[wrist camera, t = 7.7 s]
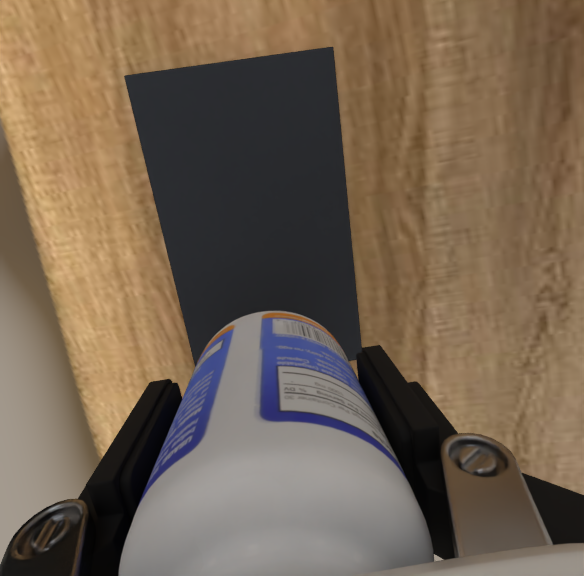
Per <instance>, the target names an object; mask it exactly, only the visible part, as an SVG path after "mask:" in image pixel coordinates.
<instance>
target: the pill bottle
mask: <svg viewBox="0 0 584 576" xmlns="http://www.w3.org/2000/svg"><path fill="white" fill-rule="evenodd" d="M430 562H434V554H433V547H432V541H431V537H430V533H429V530H428V526H427V523H426V520H425V518H424V515H423V513H422V511H421V509H420V506H419V504H418V502H417V500H416V498H415V495H414V493H413V491H412V488H411V486H410V484H409V482H408V480H407V478H406V476H405V474H404V472H403V469H402V467H401V465H400V463H399V461H398V459H397V457H396V455H395V453H394V451H393V449H392V447H391V445H390V443H389V441H388V439H387V437H386V435H385V433H384V431H383V429H382V427H381V425H380V423H379V421H378V419H377V417H376V415H375V413H374V411H373V409H372V407H371V405H370V403H369V401H368V399H367V397H366V395H365V393H364V391H363V389H362V387H361V385H360V383H359V381H358V379H357V377H356V375H355V373H354V371H353V369H352V367H351V365H350V363H349V361H348V359H347V357H346V355H345V353H344V351H343V350H342V348H341V346H340V345H339V344H338V342H337V341H336V340H335V338H334V337H333V336H332V335H331V334H330V333H329V332H328V331H327V330H326V329H325V328H324V327H323V326H321V325H320V324H318V323H317V322H315V321H313V320H312V319H310V318H307V317H305V316H303V315H299V314H296V313H292V312H286V311H264V312H257V313H253V314H249V315H246V316H243V317H241V318H239V319H236V320H234V321H233V322H231V323H229V324H228V325H226V326H225V327H224V328H222V329H221V330H220V331H219V332H218V333H217V334H216V335H215V336H214V337H213V338H212V339H211V341H210V342H209V343H208V345H207V346H206V348H205V349H204V351H203V353H202V354H201V356H200V358H199V360H198V362H197V365H196V367H195V370H194V372H193V374H192V377H191V379H190V382H189V384H188V387H187V389H186V391H185V394H184V396H183V399H182V401H181V404H180V406H179V408H178V411H177V413H176V416H175V418H174V420H173V423H172V425H171V427H170V430H169V432H168V435H167V437H166V440H165V442H164V444H163V447H162V449H161V452H160V454H159V456H158V459H157V461H156V463H155V466H154V468H153V471H152V473H151V476H150V478H149V481H148V483H147V485H146V488H145V490H144V493H143V495H142V498H141V500H140V503H139V505H138V508H137V510H136V513H135V516H134V518H133V521H132V524H131V527H130V529H129V532H128V535H127V538H126V540H125V544H124V547H123V551H122V555H121V560H120V566H119V574H118V576H353V575H359V574H365V573H371V572H377V571H383V570H388V569H394V568H400V567H406V566H412V565H418V564H424V563H430Z"/></svg>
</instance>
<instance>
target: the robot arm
mask: <svg viewBox="0 0 584 576" xmlns="http://www.w3.org/2000/svg"><path fill="white" fill-rule="evenodd" d="M356 359H357V369H358V379H359V383H360V385H361V387H362V389H363V391H364V393H365V395H366V397H367V399H368V401H369V403H370V405H371V407H372V409H373V411H374V413H375V415H376V417H377V419H378V421H379V423H380V425H381V427H382V429H383V431H384V433H385V435H386V437H387V439H388V441H389V443H390V445H391V447H392V449H393V451H394V453H395V455H396V457H397V459H398V461H399V463H400V465H401V467H402V469H403V472H404V474H405V476H406V478H407V480H408V482H409V484H410V486H411V488H412V491H413V493H414V495H415V498H416V500H417V502H418V504H419V506H420V509H421V511H422V513H423V515H424V518H425V520H426V523H427V526H428V530H429V533H430V537H431V541H432V547H433V554H435V555H437V556H439V557H441V558H442V559H444V560H441V561H435V562H430V563H424V564H418V565H412V566H406V567H400V568H394V569H388V570H383V571H377V572H371V573H365V574H359V575H353V576H584V495H582V494H579V493H576V492H573V491H571V490H568V489H565V488H562V487H560V486H557V485H554V484H551V483H549V482H546V481H543V480H540V479H538V478H535V477H532V476H529V475H527V474H524V473H521V470H520V468H519V466H518V463H517V461H516V459H515V457H514V456H513V454H512V453H511V451H510V450H509V449H507V448H506V447H505V446H504V445H503V444H501V443H500V442H498V441H496V440H494V439H492V438H490V437H487V436H484V435H481V434H474V433H459V434H458V433H457V431H456V430H455V429H454V427H453V426H452V425H451V424H450V422H449V421H448V420H447V419H446V417H445V416H444V415H443V413H442V412H441V411H440V410H439V408H438V407H437V406H436V405H435V403H434V402H433V401H432V399H431V398H430V397H429V396H428V394H427V393H426V392H425V391H424V389H423V388H422V387H421V385H420V384H419V383H418V382H409V383H407V381H406V380H405V379H404V377H403V376H402V375H401V373H400V372H399V370H398V369H397V368H396V366H395V365H394V364H393V362H392V361H391V359H390V358H389V357H388V355H387V354H386V353H385V351H384V350H383V348H382V347H381V346H380V345H377V346H371V347H365V348H362V353H357V354H356ZM181 401H182V396H181V393H180V389H179V386H178V384H177V383H172V381H171V380H170V379H166V380H160V381H154V382H150V383H149V385H148V386H147V388H146V389H145V391H144V393H143V394H142V396H141V397H140V399H139V401H138V402H137V404H136V405H135V407H134V409H133V410H132V412H131V413H130V415H129V417H128V418H127V420H126V421H125V423H124V425H123V426H122V428H121V429H120V431H119V433H118V434H117V436H116V437H115V439H114V441H113V442H112V444H111V445H110V447H109V449H108V450H107V452H106V453H105V455H104V457H103V458H102V460H101V461H100V463H99V465H98V466H97V468H96V470H95V471H94V473H93V474H92V476H91V478H90V479H89V481H88V482H87V484H86V486H85V488H84V490H83V491H82V493H81V494H80V496H79V498H78V499H67V500H64V501H60V502H57V503H55V504H53V505H51V506H49V507H46V508H45V509H43V510H42V511H40V512H39V513H37V514H36V515H34V516H33V517H32V518H31V519H29V520H28V521H27V522H26V523H25V524H23V525H22V527H21V528H20V529H19V530H18V531H17V532H16V533H15V535H14V536H13V538H12V540H11V541H10V543H9V545H8V547H7V549H6V552H5V554H4V557H3V559H2V562H1V564H0V576H118V574H119V566H120V560H121V555H122V551H123V547H124V544H125V540H126V538H127V535H128V532H129V529H130V527H131V524H132V521H133V518H134V516H135V513H136V510H137V508H138V505H139V503H140V500H141V498H142V495H143V493H144V490H145V488H146V485H147V483H148V481H149V478H150V476H151V473H152V471H153V468H154V466H155V463H156V461H157V459H158V456H159V454H160V452H161V449H162V447H163V444H164V442H165V440H166V437H167V435H168V432H169V430H170V427H171V425H172V423H173V420H174V418H175V416H176V413H177V411H178V408H179V406H180V404H181Z"/></svg>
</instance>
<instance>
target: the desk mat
mask: <svg viewBox="0 0 584 576" xmlns="http://www.w3.org/2000/svg"><path fill="white" fill-rule="evenodd" d="M124 77H125V81H126V85H127V89H128V93H129V97H130V102H131V106H132V110H133V114H134V118H135V122H136V126H137V130H138V134H139V138H140V142H141V146H142V151H143V155H144V159H145V163H146V167H147V171H148V175H149V179H150V183H151V187H152V191H153V196H154V200H155V204H156V208H157V212H158V216H159V220H160V224H161V228H162V232H163V236H164V241H165V245H166V249H167V253H168V257H169V261H170V265H171V269H172V273H173V277H174V281H175V285H176V290H177V294H178V298H179V302H180V306H181V310H182V314H183V318H184V322H185V326H186V330H187V335H188V339H189V343H190V347H191V351H192V355H193V359H194V363H195V367H196V365H197V362H198V360H199V358H200V356H201V354H202V353H203V351H204V349H205V348H206V346H207V345H208V343H209V342H210V341H211V339H212V338H213V337H214V336H215V335H216V334H217V333H218V332H219V331H220V330H221V329H222V328H224V327H225V326H226V325H228V324H229V323H231V322H233V321H234V320H236V319H239V318H241V317H243V316H246V315H249V314H253V313H257V312H264V311H286V312H292V313H296V314H299V315H303V316H305V317H307V318H310V319H312V320H313V321H315V322H317V323H318V324H320V325H321V326H323V327H324V328H325V329H326V330H327V331H328V332H329V333H330V334H331V335H332V336H333V337H334V338H335V340H336V341H337V342H338V344H339V345H340V346H341V348H342V350H343V351H344V353H345V355H346V357H347V359H348V361H352V360H357V359H356V354H357V353H362V346H361V335H360V325H359V314H358V304H357V293H356V283H355V272H354V262H353V251H352V241H351V230H350V219H349V209H348V198H347V188H346V177H345V167H344V156H343V146H342V135H341V125H340V114H339V103H338V93H337V82H336V72H335V61H334V51H333V47H327V48H320V49H313V50H305V51H298V52H291V53H284V54H277V55H270V56H262V57H255V58H248V59H241V60H234V61H226V62H219V63H212V64H205V65H198V66H191V67H183V68H176V69H169V70H162V71H155V72H148V73H140V74H133V75H126V76H124Z"/></svg>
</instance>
